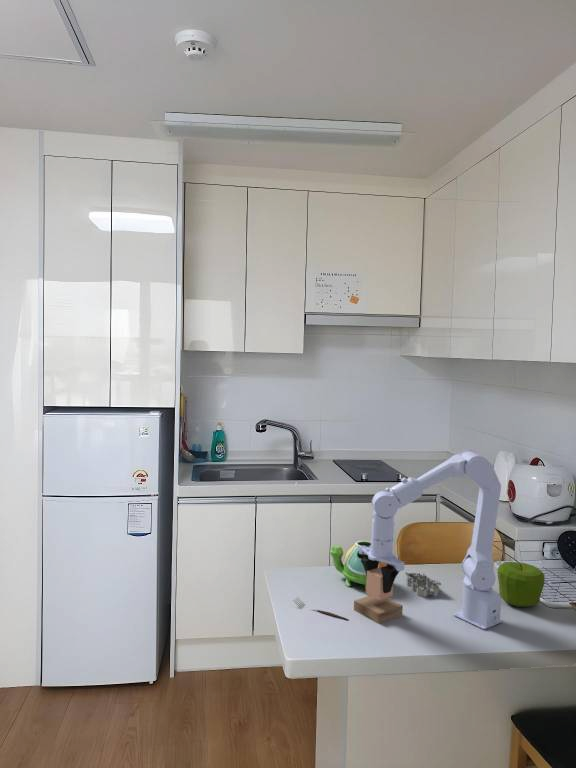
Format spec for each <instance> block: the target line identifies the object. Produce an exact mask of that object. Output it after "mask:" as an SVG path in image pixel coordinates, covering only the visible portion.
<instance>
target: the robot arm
mask: <svg viewBox="0 0 576 768" xmlns="http://www.w3.org/2000/svg"><path fill="white" fill-rule="evenodd" d="M465 475H466V476H467V477H468V478H470V479H471V480H472V481H473V483H474V484H475V485H476V486H477V487H478V488H479V491H478V496H477V504H476V510H475V511H476V512H475V516H474V517H475V518H474V524H473V529H472V530H473V531H472V537H471V544H470V546H469V547H468V549H467V551H466V555H465V557H464V559H463V560H462V562H461V569H462V572H463V574H464V578H463V580H462V594H461V606H460V607H461V609H460V610H459V611H457V612H454V613H453V616H455V617H457V618H459V619H461V620H462V621H465V622H468V623H469V624H472V625H474V626H476V627H478V628H480V629H482V630H487V629H489V628H491V627H493V626H496V625H497V624H500V623H502V622H503V621H502V619H501V612H502V611H501V610H502V598H501V596H500V593H499V592H497V591H495V590H494V588H493V586H494V585H495V583H496V579H497V578H496V574H495V572H494V566H495V564H494V563H495V562H494V558H493V553H492V550H493V544H494V538H495V532H496V524H497V519H498V510H499V503H500V497H501V489H502V484H501V482H500V479H499V477H498V475H497V473H496V470H495V466H494V465H493V464H492V463H491V462H490V461H489V460H488V459H487V458H485V457H484V456H481V455H480V454H479V453H477V452H476V451H474V450H472V449H465V450H463V451H461V452H460V453H457V454H454V455H452V456H451V457H449V458H448V459H446V460H444V461H443V462H442V463H440V464H438V465H437V466H436V467H434V468H432V469H431V470H429V471H427V472H425V473H424V474H422V475H420V476H419V477H418V478H414V477H411V476H409V477H408V478H406V477H402V478H401V479H400V481H401V482H398V483H397V484H395V485H393V486H391V487H386V488H385V491H382V490H381V491H378V492H376V493H375V494H374V496H372V500H371V506H372V508H373V512H372V520H371V521H372V522H371V534H370V535H371V537H370V538H371V539H370V542H371V546H369V547H367V546H360V547H359V554H364V555H365V557H364V558H361V562H362V564H363V566H364V569H365V572H366V576H367V571H369V570H372V569H376V568H378V565H379V562H382V563H384V564H387V566H384V567H381V572H382V576H383V593H389V592H391V588H392V585H393V586H394V582H395V580H396V578H397V576H398V575H399V573H400V572H402V571H404V570H405V562H404V561H402V560H400V559H399V558H397V557H396V556H395V555H394V554H393V546H394V532H395V515H396V513H397V512H398V509H402V508H403V507H405V506H407V505H409V504H411V503H412V502H414V501H416V500H418V499H420V498H421V497H422V495H423V494H424V491H425V490H426V489H428V488H431V487H432V486H435V485H436V484H438V483H441V482H443V481H445V480H447V479H449V478H452V477H453V478H458V479H459V478H460V479H466V477H465Z"/></svg>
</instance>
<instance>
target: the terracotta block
mask: <svg viewBox="0 0 576 768" xmlns="http://www.w3.org/2000/svg"><path fill="white" fill-rule="evenodd" d="M393 593H394V584H393V585H392V588H391V592H389V593H383V576H382V572H381V567H380V568H376V569H372V570H369V571H367V579H366V589H365V594H368V596H370V595H371V596H373V597H374V598H376V599H378V600H381V599H384V598H390V597H393V596H394V595H393Z"/></svg>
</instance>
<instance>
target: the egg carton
mask: <svg viewBox="0 0 576 768" xmlns="http://www.w3.org/2000/svg"><path fill="white" fill-rule="evenodd" d="M405 576H406V580H405V581H406V582H405V583H406V586H407V587H410V590H411V591H413V592H416V593H415V594H417V596H419V597H422V598H427V596H433V597H438V595H439V594H440V586H442V583H441V582H440V581H439V580H435V579H433V578H432V577H429V576H427V574H426V573H423V574H421V573H420V572H418V573H417V572H411V573H410V572H407V571H405ZM424 586H426V588H425V587H424Z"/></svg>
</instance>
